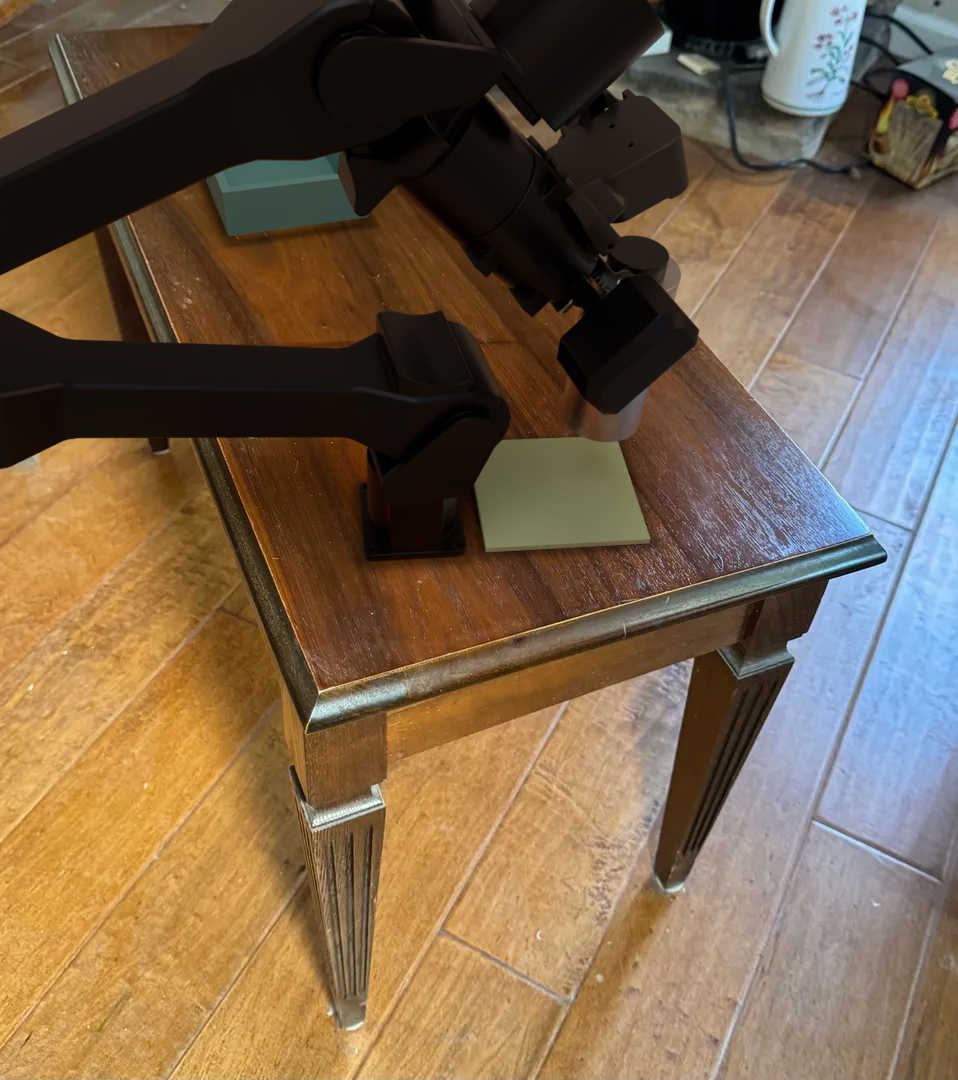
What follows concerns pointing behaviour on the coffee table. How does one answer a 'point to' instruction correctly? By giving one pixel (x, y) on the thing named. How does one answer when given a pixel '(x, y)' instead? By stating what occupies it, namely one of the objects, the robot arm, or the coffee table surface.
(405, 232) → the coffee table surface
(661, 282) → the bottle
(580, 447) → the placemat
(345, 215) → the teal open box
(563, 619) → the coffee table surface
